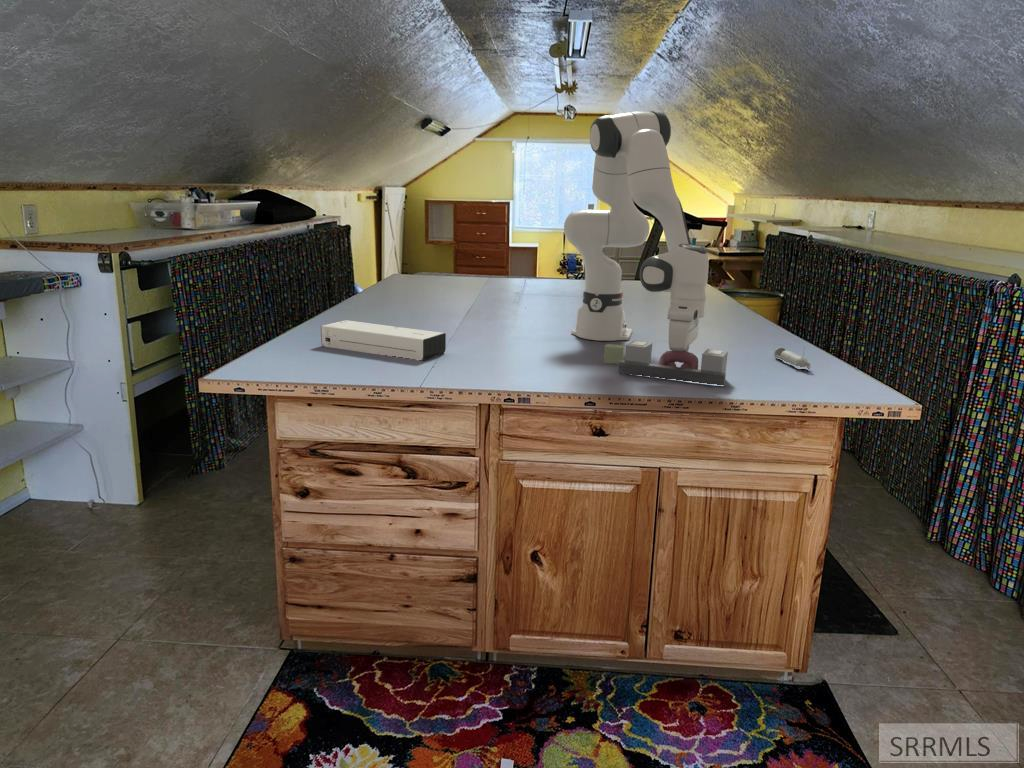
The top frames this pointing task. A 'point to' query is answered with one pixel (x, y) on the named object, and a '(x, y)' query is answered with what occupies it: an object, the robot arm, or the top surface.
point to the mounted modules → (710, 361)
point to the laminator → (383, 339)
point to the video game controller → (679, 359)
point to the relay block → (613, 353)
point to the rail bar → (671, 372)
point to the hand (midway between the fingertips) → (682, 361)
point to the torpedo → (791, 357)
